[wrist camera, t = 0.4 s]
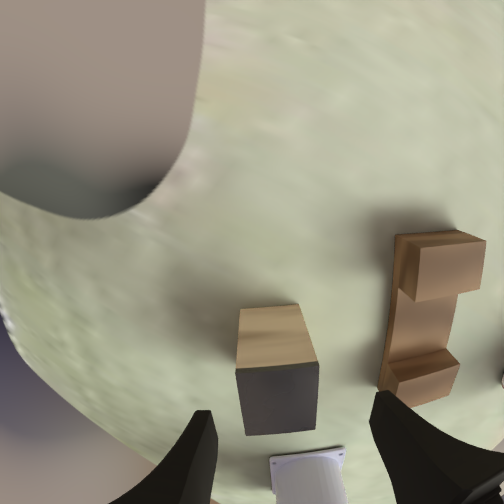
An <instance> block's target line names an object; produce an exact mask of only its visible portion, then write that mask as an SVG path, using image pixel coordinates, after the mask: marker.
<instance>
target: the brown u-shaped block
mask: <svg viewBox="0 0 504 504" xmlns="http://www.w3.org/2000/svg"><path fill="white" fill-rule="evenodd" d="M485 249H486V241H485V240H483V239H480V238H478V237H475V236H472V235H470V234H467V233H465V232H462V231H459V230H452V231H438V232H425V233H412V234H400V235H395V252H394V270H393V283H392V294H391V304H390V313H389V321H388V328H387V335H386V342H385V348H384V354H383V360H382V366H381V371H380V376H379V381H378V386H377V388H378V390H379V392H380V391H384V390H389V391H391V392H392V393H393V394H394V395H395V396H396V397H398V398H399V399H400V400H401V401H402V402H403V403H405V404H406V405H407V406H408V407H409V408H412V407H415V406H419V405H422V404H425V403H428V402H431V401H434V400H436V399H439V398H442V397H445V396H447V395H449V393H450V391H451V388H452V386H453V383H454V380H455V378H456V375H457V372H458V369H459V366H460V363H459V362H458V361H457V360H456V359H455V358H454V357H453V356H452V354H451V353H450V352H449V351H448V350H447V349H446V346H447V343H448V339H449V335H450V331H451V326H452V322H453V317H454V313H455V308H456V302H457V297H458V294H460V293H464V292H469V291H473V290H477V289H480V284H481V278H482V271H483V265H484V257H485Z"/></svg>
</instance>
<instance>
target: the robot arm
mask: <svg viewBox="0 0 504 504" xmlns="http://www.w3.org/2000/svg"><path fill="white" fill-rule="evenodd" d="M369 424H370V428H371V431H372V435H373V438H374V441H375V444H376V446H377V448H378V451H379V453H380V455H381V458H382V460H383V462H384V465H385V467H386V469H387V472H388V474H389V477H390V479H391V482H392V486H393V490H394V494H395V498H396V502H397V504H504V495H503V496H500V494H499V493H500V492H501V488H500V486H499V485H500V484H501V483H502V482H503V481H504V453H501V452H495V451H490V450H486V449H482V448H479V447H476V446H473V445H470V444H467V443H465V442H463V441H460V440H458V439H456V438H454V437H452V436H450V435H448V434H446V433H444V432H442V431H441V430H439V429H438V428H436V427H434V426H433V425H432V424H430V423H429V422H427V421H426V420H424V419H423V418H422V417H420V416H419V415H418V414H417V413H415V412H414V411H413V410H412V409H410V408H409V407H408V406H407V405H406V404H405V403H403V402H402V401H401V400H400V399H399V398H398V397H396V396H395V395H394V394H393V393H392V392H391V391H389V390H384V391H380V392H376V395H375V399H374V404H373V408H372V412H371V416H370V420H369ZM217 454H218V436H217V432H216V429H215V425H214V421H213V417H212V413H211V410H197V411H195V413H194V415H193V416H192V418H191V420H190V422H189V423H188V425H187V427H186V428H185V430H184V432H183V433H182V435H181V436H180V438H179V439H178V440H177V442H176V443H175V445H174V446H173V447H172V449H171V450H170V451H169V453H168V454H167V455H166V456H165V458H164V459H163V460H162V461H161V462H160V463H159V464H158V466H157V467H156V468H155V469H154V470H153V471H152V472H151V473H150V474H149V475H148V476H146V477H145V478H144V479H143V480H142V481H141V482H140V483H138V484H137V485H136V486H135V487H133V488H132V489H131V490H129V491H128V492H126V493H125V494H123V495H122V496H121V497H119V498H117V499H116V500H114V501H112V502H111V503H109V504H210V497H211V491H212V485H213V480H214V474H215V468H216V463H217ZM345 454H346V448H345V447H339V448H334V449H328V450H322V451H316V452H309V453H301V454H293V455H283V456H273V457H270V459H269V462H270V472H271V482H272V492H273V494H275V495H276V504H349V502H348V498H347V494H346V490H345V486H344V482H343V478H342V475H341V469H342V465H343V461H344V458H345Z"/></svg>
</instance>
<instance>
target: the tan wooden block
mask: <svg viewBox="0 0 504 504" xmlns="http://www.w3.org/2000/svg"><path fill="white" fill-rule="evenodd" d="M235 374H236V381H237V387H238V393H239V399H240V405H241V411H242V417H243V422H244V428H245V434H246V436H254V435H269V434H281V433H291V432H300V431H307V430H315V426H316V414H317V400H318V383H319V363H318V360H317V357H316V354H315V351H314V348H313V345H312V342H311V339H310V336H309V333H308V330H307V327H306V324H305V321H304V318H303V315H302V312H301V309H300V306H299V304H293V305H283V306H272V307H261V308H248V309H240V318H239V331H238V345H237V358H236V372H235Z"/></svg>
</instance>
